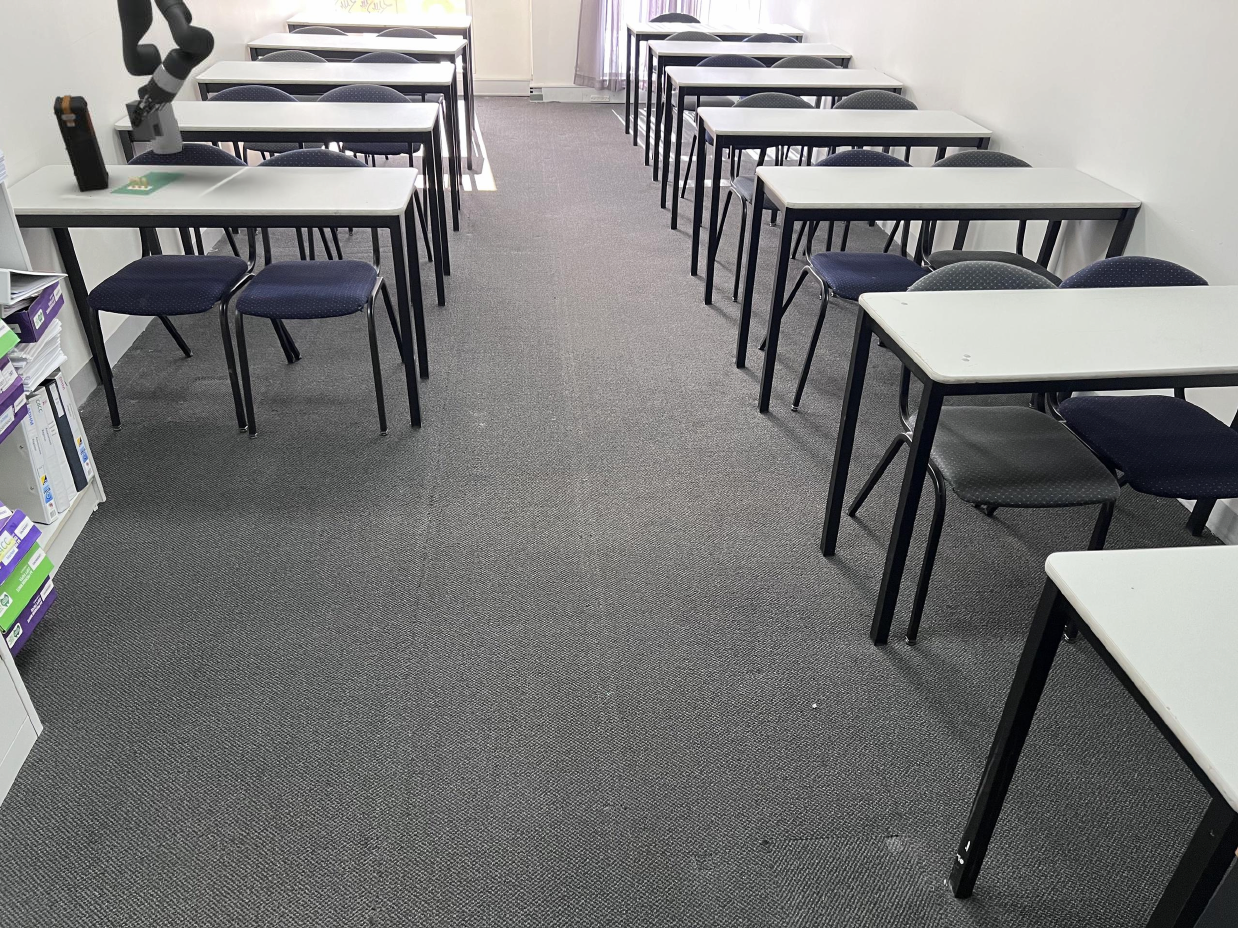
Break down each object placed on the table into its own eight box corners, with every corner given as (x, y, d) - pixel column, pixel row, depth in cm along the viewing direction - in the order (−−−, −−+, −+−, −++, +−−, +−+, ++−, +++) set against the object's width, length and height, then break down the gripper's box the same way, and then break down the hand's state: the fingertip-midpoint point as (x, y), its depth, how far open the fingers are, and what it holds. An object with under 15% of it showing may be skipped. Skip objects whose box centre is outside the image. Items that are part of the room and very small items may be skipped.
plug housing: (145, 134, 273) (135, 100, 267) (163, 135, 272) (154, 101, 266) (135, 139, 268) (125, 104, 263) (153, 140, 268) (144, 105, 262)
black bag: (79, 181, 275) (51, 95, 261) (110, 178, 278) (85, 93, 265) (77, 196, 264) (48, 107, 250) (110, 192, 267) (83, 104, 253)
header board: (151, 175, 282) (148, 162, 280) (187, 177, 281) (184, 164, 279) (110, 196, 264) (106, 182, 262) (148, 198, 263) (144, 185, 260)
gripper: (169, 67, 265) (142, 107, 273) (141, 77, 253) (114, 119, 261) (190, 87, 267) (163, 126, 275) (164, 97, 255) (137, 138, 263)
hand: (140, 122), depth 268 cm, fingers closed on plug housing, 5 cm apart
